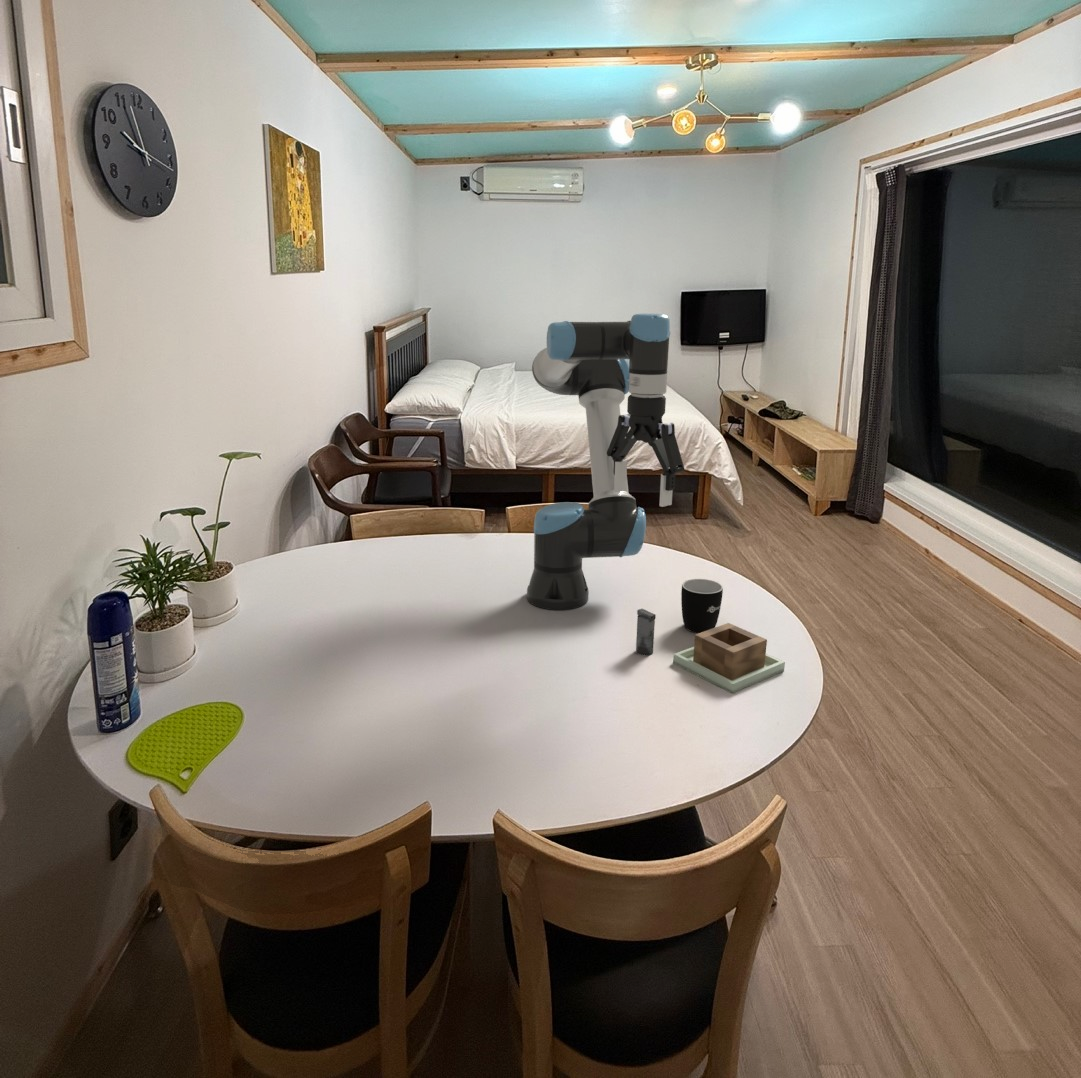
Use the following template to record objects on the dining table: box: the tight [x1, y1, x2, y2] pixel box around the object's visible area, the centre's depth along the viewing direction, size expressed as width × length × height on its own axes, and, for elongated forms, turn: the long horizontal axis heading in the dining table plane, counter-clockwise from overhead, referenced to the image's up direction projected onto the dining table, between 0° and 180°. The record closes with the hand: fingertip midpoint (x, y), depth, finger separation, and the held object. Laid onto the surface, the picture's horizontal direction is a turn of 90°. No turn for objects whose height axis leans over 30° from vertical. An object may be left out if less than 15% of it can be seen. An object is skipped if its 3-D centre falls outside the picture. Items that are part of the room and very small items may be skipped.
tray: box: [672, 646, 786, 694], centre depth 162 cm, size 16×16×2 cm
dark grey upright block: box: [635, 608, 657, 656], centre depth 168 cm, size 4×4×9 cm
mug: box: [680, 578, 724, 634], centre depth 180 cm, size 12×9×10 cm
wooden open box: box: [693, 622, 768, 680], centre depth 162 cm, size 10×10×6 cm
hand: (642, 498), depth 165 cm, fingers open, 13 cm apart
